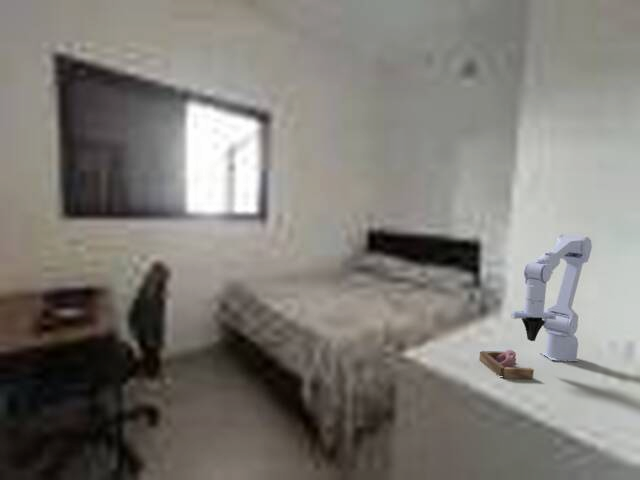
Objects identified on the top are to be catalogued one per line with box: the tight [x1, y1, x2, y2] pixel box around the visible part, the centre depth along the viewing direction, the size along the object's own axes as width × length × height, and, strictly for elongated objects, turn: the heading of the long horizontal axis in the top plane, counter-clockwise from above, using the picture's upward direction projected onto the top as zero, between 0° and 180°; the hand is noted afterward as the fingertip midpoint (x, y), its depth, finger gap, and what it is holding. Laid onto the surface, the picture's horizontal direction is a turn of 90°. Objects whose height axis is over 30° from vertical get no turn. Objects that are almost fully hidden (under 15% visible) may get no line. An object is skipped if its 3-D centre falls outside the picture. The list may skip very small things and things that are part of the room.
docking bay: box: [479, 350, 535, 380], centre depth 141 cm, size 10×16×3 cm, turn 4°
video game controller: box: [495, 349, 517, 367], centre depth 143 cm, size 10×5×7 cm, turn 159°
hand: (531, 340), depth 143 cm, fingers closed
